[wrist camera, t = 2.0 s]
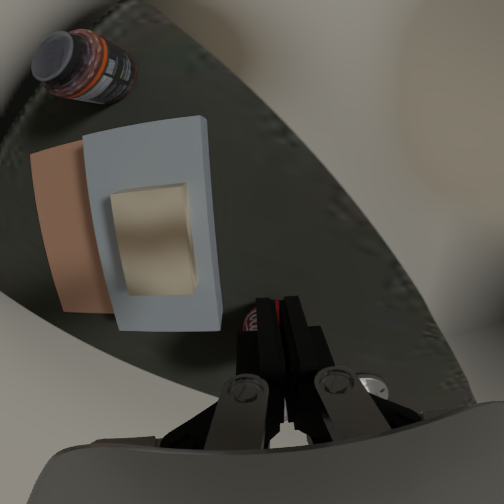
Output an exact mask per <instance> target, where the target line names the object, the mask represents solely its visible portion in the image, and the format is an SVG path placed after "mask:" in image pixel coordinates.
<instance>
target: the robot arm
mask: <svg viewBox="0 0 504 504" xmlns="http://www.w3.org/2000/svg"><path fill="white" fill-rule="evenodd" d="M256 316H257V330H253V331H238V334H237V362H236V376H233V377H231V378H229V379H228V380H227V381H226V382H225V383H224V385H223V387H222V389H221V393H220V396H219V400H218V401H217V402H216V403H214V404H213V405H212V406H210V407H209V408H207V409H206V410H204V411H202V412H201V413H199V414H198V415H196V416H195V417H194V418H192V419H190V420H189V421H187V422H185V423H184V424H182V425H181V426H179V427H177V428H176V429H174V430H172V431H171V432H169V433H168V434H167V435H165V436H164V438H160V439H156V438H155V436H149V437H137V438H115V439H100V440H96V441H94V442H92V443H91V444H87V445H79V446H74V447H69V448H66V449H63V450H61V451H59V452H57V453H56V454H55V455H54V456H53V457H52V458H51V459H50V460H49V461H48V463H47V464H46V465H45V467H44V468H43V470H42V472H41V473H40V475H39V477H38V479H37V481H36V483H35V485H34V487H33V490H32V492H31V495H30V497H29V499H28V502H27V504H504V401H490V402H483V403H478V404H475V405H471V406H458V407H451V408H443V409H434V410H423V411H422V412H421V414H417V413H416V412H415V411H413V410H411V409H409V408H406V407H403V406H401V405H398V404H396V403H393V402H391V401H388V400H387V398H388V389H387V387H386V385H385V383H384V381H383V380H381V379H380V378H379V377H376V376H374V375H369V374H358V375H356V374H355V373H354V372H353V371H351V370H350V369H348V368H344V367H339V366H335V364H334V361H333V358H332V356H331V353H330V350H329V347H328V345H327V342H326V339H325V337H324V334H323V331H322V329H321V327H320V326H310V327H308V326H307V322H306V319H305V316H304V313H303V310H302V307H301V303H300V300H299V297H298V296H285V297H284V300H279V322H278V316H277V310H276V304H275V301H270V299H269V298H256ZM285 403H286V410H287V417H288V422H289V423H290V422H294V427H295V430H300V431H301V432H303V433H305V434H307V441H308V444H309V445H305V446H296V447H285V448H273V449H269V448H270V440H271V439H272V438H273V437H274V436H275V435H276V434H277V433H278V432H279V431H280V423H284V408H285Z"/></svg>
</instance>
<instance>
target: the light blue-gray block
mask: <svg viewBox="0 0 504 504" xmlns="http://www.w3.org/2000/svg"><path fill="white" fill-rule="evenodd" d="M83 148H84V159H85V169H86V178H87V186H88V193H89V200H90V207H91V213H92V219H93V225H94V230H95V236H96V241H97V246H98V251H99V255H100V260H101V264H102V269H103V273H104V277H105V281H106V285H107V289H108V293H109V296H110V300H111V304H112V307H113V311H114V314H115V317H116V321H117V324H118V327H119V330H120V331H166V332H184V331H220V328H221V321H222V313H223V307H222V298H221V288H220V279H219V269H218V259H217V248H216V238H215V227H214V215H213V203H212V190H211V177H210V163H209V148H208V132H207V119H205V118H204V117H202V116H191V117H182V118H174V119H167V120H160V121H154V122H148V123H142V124H136V125H131V126H125V127H120V128H115V129H111V130H106V131H101V132H97V133H93V134H88V135H84V136H83ZM178 183H187V190H188V201H189V211H190V220H191V230H192V238H193V247H194V255H195V263H196V271H197V278H198V283H197V286H196V289H195V292H194V294H187V295H143V296H129V293H128V289H127V285H126V280H125V276H124V271H123V267H122V262H121V257H120V252H119V247H118V242H117V236H116V230H115V224H114V218H113V212H112V205H111V198H110V195H111V194H113V193H115V192H118V191H120V190H125V189H132V188H141V187H149V186H158V185H168V184H178Z"/></svg>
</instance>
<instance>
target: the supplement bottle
mask: <svg viewBox="0 0 504 504" xmlns="http://www.w3.org/2000/svg"><path fill="white" fill-rule="evenodd" d="M31 69H32V73H33V76H34V77H35V78H36V79H37V80H39V81H42V82H43V85H44V87H45V88H46V90H47V91H48V92H49V93H51V94H53V95H55V96H58V97H63V98H67V99H74V100H81V101H86V102H92V103H98V104H111V103H115V102H117V101H119V100H121V99H122V98H123V97H125V96H126V95H127V94H128V93H129V92H130V90H131V89H132V87H133V85H134V83H135V81H136V77H137V66H136V63H135V61H134V59H133V58H132V56H131V55H129V54H128V53H127V52H125V51H124V50H122V49H121V48H119V47H118V46H116V45H114V44H113V43H111V42H110V41H108V40H107V39H105V38H103V37H102V36H100V35H98V34H97V33H95V32H93V31H90V30H87V29H78V30H73V31H70V32H66V31H57V32H54V33H52V34H50V35H49V36H47V37H46V38H45V39H44V40H43V41H42V42H41V43H40V44H39V46H38V47H37V49H36V51H35V53H34V55H33V58H32V64H31Z"/></svg>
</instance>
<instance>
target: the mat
mask: <svg viewBox="0 0 504 504" xmlns="http://www.w3.org/2000/svg"><path fill="white" fill-rule="evenodd" d="M30 159H31V169H32V178H33V186H34V193H35V199H36V205H37V211H38V217H39V222H40V227H41V232H42V236H43V241H44V245H45V249H46V254H47V257H48V261H49V265H50V269H51V272H52V276H53V279H54V283H55V286H56V289H57V293H58V296H59V299H60V302H61V305H62V308H63V311H64V312H79V313H114V311H113V307H112V304H111V300H110V296H109V293H108V289H107V285H106V281H105V277H104V273H103V269H102V264H101V260H100V255H99V251H98V246H97V241H96V236H95V230H94V225H93V219H92V213H91V207H90V200H89V193H88V186H87V178H86V169H85V159H84V148H83V140H80V141H76V142H72V143H68V144H64V145H60V146H57V147H53V148H50V149H46V150H43V151H40V152H37V153H33V154H30Z"/></svg>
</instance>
